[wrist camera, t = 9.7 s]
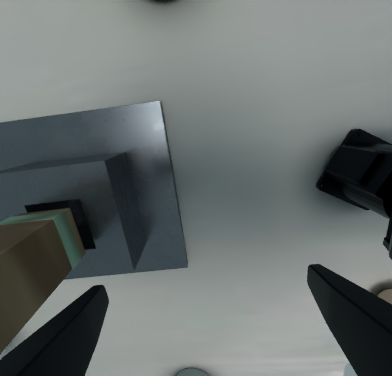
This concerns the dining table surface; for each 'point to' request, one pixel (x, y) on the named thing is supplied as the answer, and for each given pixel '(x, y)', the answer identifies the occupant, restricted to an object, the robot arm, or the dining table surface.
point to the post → (33, 264)
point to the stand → (99, 184)
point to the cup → (192, 372)
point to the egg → (386, 295)
